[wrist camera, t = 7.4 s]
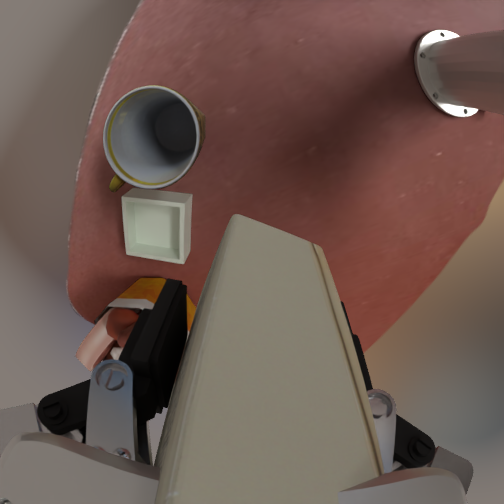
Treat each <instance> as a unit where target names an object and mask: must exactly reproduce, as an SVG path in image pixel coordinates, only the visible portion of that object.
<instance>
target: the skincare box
mask: <svg viewBox="0 0 504 504" xmlns="http://www.w3.org/2000/svg"><path fill="white" fill-rule="evenodd" d="M154 466H155V467H159V468H160V478H159V484H158V489H157V494H156V499H155V503H154V504H339V502H338V492H340V491H343V490H345V489H348V488H351V487H353V486H356V485H358V484H361V483H363V482H366V481H369V480H371V479H374V478H376V477H379V476H381V475H383V474H384V468H383V463H382V457H381V452H380V447H379V442H378V438H377V433H376V429H375V424H374V419H373V415H372V410H371V407H370V403H369V399H368V394H367V391H366V387H365V383H364V379H363V376H362V372H361V368H360V365H359V361H358V357H357V354H356V350H355V347H354V343H353V340H352V336H351V333H350V330H349V327H348V324H347V320H346V317H345V314H344V311H343V308H342V305H341V302H340V299H339V296H338V293H337V290H336V287H335V284H334V281H333V278H332V275H331V272H330V269H329V266H328V263H327V261H326V258H325V255H324V253H323V250H322V248H321V247H320V246H318V245H316V244H313V243H311V242H309V241H306V240H304V239H302V238H299V237H297V236H294V235H292V234H289V233H287V232H284V231H282V230H279V229H277V228H274V227H272V226H269V225H266V224H264V223H261V222H258V221H256V220H253V219H250V218H248V217H245V216H242V215H240V214H234V215H233V216H232V217H231V219H230V221H229V224H228V226H227V228H226V231H225V233H224V235H223V238H222V240H221V243H220V245H219V247H218V250H217V253H216V255H215V258H214V260H213V263H212V265H211V268H210V271H209V273H208V276H207V279H206V282H205V284H204V287H203V290H202V293H201V296H200V299H199V302H198V305H197V308H196V311H195V315H194V319H193V322H192V325H191V328H190V332H189V335H188V339H187V342H186V345H185V349H184V352H183V356H182V359H181V363H180V367H179V370H178V374H177V377H176V381H175V384H174V388H173V392H172V395H171V399H170V403H169V407H168V411H167V415H166V419H165V422H164V426H163V430H162V434H161V438H160V442H159V446H158V450H157V455H156V459H155V463H154Z"/></svg>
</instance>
